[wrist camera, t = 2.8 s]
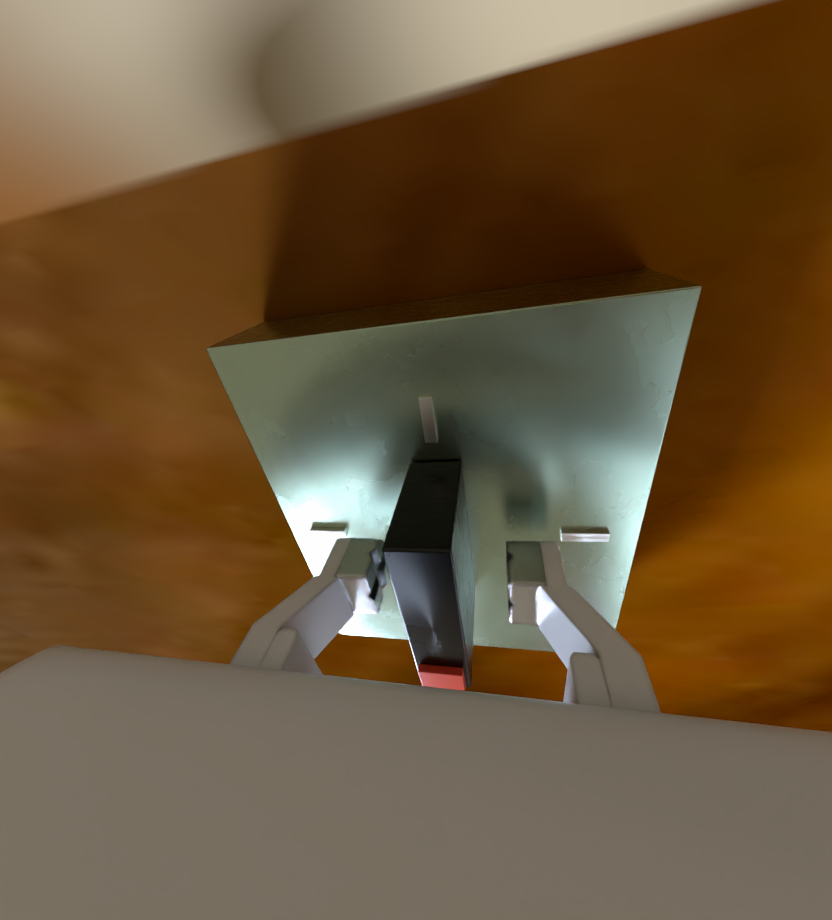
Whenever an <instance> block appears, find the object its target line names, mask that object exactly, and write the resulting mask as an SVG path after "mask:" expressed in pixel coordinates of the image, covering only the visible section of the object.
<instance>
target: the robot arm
mask: <svg viewBox="0 0 832 920" xmlns="http://www.w3.org/2000/svg"><path fill="white" fill-rule="evenodd" d="M383 544H384V542H383V540H382V539H369V538H338V539H337V540H336V542H335V544H334V546H333V548H332V550H331V552H330V554H329V556H328V558H327V560H326V562H325V564H324V566H323V569H322V571H321V573H320V575H319V576H314V577H313V578H312V579H310V580H309V581H308V582H307V583H305V584H304V585H303V586H301V587H300V588H299V589H298V590H296V591H295V592H294V593H292V594H291V595H290V596H288V597H287V598H286V599H285V600H283V601H282V602H281V603H279V604H278V605H277V606H276V607H274V608H273V609H272V610H270V611H269V612H268V613H267V614H265V615H264V616H263V617H261V618H260V619H259V620H258V621H256V622H255V623H254V624H253V625H252V627H251V628H250V630H249V632H248V633H247V635H246V637H245V638H244V640H243V642H242V644H241V645H240V647H239V649H238V650H237V652H236V654H235V655H234V657H233V659H232V661H231V662H230V664H222V663H213V662H204V661H195V660H186V659H178V658H169V657H160V656H151V655H142V654H134V653H125V652H116V651H107V650H99V649H90V648H81V647H73V646H63V645H59V646H52V647H49V648H46V649H44V650H42V651H40V652H38V653H36V654H34V655H32V656H30V657H28V658H26V659H24V660H22V661H21V662H19V663H17V664H15V665H13V666H12V667H10V668H8V669H6V670H5V671H3V672H1V673H0V920H832V732H826V731H817V730H808V729H799V728H790V727H782V726H773V725H764V724H755V723H746V722H737V721H728V720H719V719H710V718H702V717H693V716H684V715H675V714H666V713H661V711H660V708H659V705H658V702H657V699H656V696H655V693H654V690H653V688H652V685H651V682H650V679H649V676H648V673H647V670H646V667H645V664H644V661H643V658H642V656H641V655H640V654H639V653H638V652H637V651H636V650H635V649H634V648H633V647H632V646H631V645H630V644H629V643H628V642H627V641H626V640H625V639H624V638H623V637H622V636H621V635H620V634H619V633H618V632H617V631H616V630H615V629H614V628H613V627H612V626H611V625H610V624H609V623H608V622H607V621H606V620H605V619H604V618H603V617H602V616H601V615H600V614H599V613H598V612H597V611H596V610H595V609H594V608H593V607H592V606H591V605H590V604H589V603H588V602H587V601H586V600H585V599H584V598H583V597H582V596H581V595H580V594H579V593H578V592H577V591H576V590H575V588H574V587H568V585H567V580H566V576H565V571H564V566H563V561H562V557H561V552H560V547H559V543H558V542H557V541H506V569H507V593H508V614H509V623H511V624H521V625H532V626H539V629H540V630H541V631H542V633H543V634H544V636H545V637H546V639H547V640H548V642H549V643H550V644H551V646H552V647H553V649H554V650H555V652H556V653H557V655H558V656H559V657H560V659H561V660H562V662H563V663H564V665H565V666H566V668H567V669H568V672H567V678H566V685H565V692H564V699H563V702H559V701H550V700H541V699H533V698H524V697H515V696H506V695H497V694H488V693H480V692H471V691H462V690H453V689H444V688H435V687H427V686H418V685H409V684H400V683H391V682H382V681H373V680H364V679H355V678H346V677H337V676H328V675H322V673H321V671H320V669H319V667H318V666H317V664H316V662H315V661H314V659H315V658H316V657H317V656H318V654H319V653H320V652H321V651H322V650H323V649H324V648H325V647H326V646H327V644H328V643H329V642H330V641H331V640H332V639H333V638H334V637H335V636H336V635H337V633H338V632H339V631H340V630H341V629H342V628H343V627H344V626H345V625H346V623H347V622H348V621H349V620H350V619H351V618H352V617H353V616H354V614H379V612H380V608H381V605H382V601H383V598H384V595H383V592H382V589H383V588H384V587H385V586H386V585H387V583H388V580H389V573H388V570H387V567H386V563H385V560H384V556H383V553H382V547H383Z"/></svg>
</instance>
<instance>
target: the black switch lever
mask: <svg viewBox="0 0 832 920" xmlns="http://www.w3.org/2000/svg"><path fill="white" fill-rule="evenodd" d="M382 553H383V556H384V560H385V563H386V567H387V570H388V573H389V577H390V580H391V583H392V587H393V590H394V593H395V597H396V600H397V604H398V607H399V610H400V614H401V617H402V620H403V624H404V627H405V631H406V634H407V637H408V641H409V644H410V647H411V651H412V654H413V657H414V661H415V664H416V668H417V671H418V674H419V678H420V681H421V683H422V686H427V687H435V688H444V689H453V690H462V691H466V687H471V682H472V657H473V632H474V607H475V584H474V574H473V565H472V555H471V545H470V536H469V526H468V517H467V507H466V497H465V488H464V478H463V468H462V463H461V462H460V461H456V462H427V463H410V464H409V467H408V470H407V473H406V476H405V479H404V483H403V486H402V489H401V492H400V495H399V498H398V501H397V504H396V507H395V510H394V513H393V516H392V519H391V522H390V525H389V528H388V531H387V534H386V537H385V541H384V544H383V547H382Z"/></svg>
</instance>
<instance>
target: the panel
mask: <svg viewBox="0 0 832 920" xmlns="http://www.w3.org/2000/svg"><path fill="white" fill-rule="evenodd" d="M700 292H701V285H697V284H694V283H691V282H688V281H685V280H682V279H679V278H676V277H673V276H670V275H667V274H663V273H660V272H657V271H654V270H651V269H641V270H634V271H626V272H619V273H612V274H605V275H598V276H591V277H584V278H577V279H570V280H562V281H555V282H548V283H541V284H534V285H527V286H520V287H513V288H506V289H498V290H491V291H484V292H477V293H470V294H463V295H456V296H449V297H442V298H434V299H427V300H420V301H413V302H406V303H399V304H392V305H385V306H378V307H370V308H363V309H356V310H349V311H342V312H335V313H328V314H321V315H313V316H306V317H299V318H292V319H285V320H278V321H271V322H264V323H260V324H258V325H256V326H254V327H252V328H249V329H247V330H245V331H243V332H241V333H239V334H236V335H234V336H232V337H230V338H228V339H226V340H223V341H221V342H219V343H217V344H215V345H212V346H210V347H208V348H207V352H208V354H209V356H210V358H211V361H212V363H213V365H214V367H215V369H216V371H217V373H218V375H219V378H220V380H221V382H222V384H223V386H224V388H225V390H226V392H227V395H228V397H229V399H230V401H231V403H232V405H233V407H234V409H235V411H236V414H237V416H238V418H239V420H240V422H241V424H242V426H243V428H244V431H245V433H246V435H247V437H248V439H249V441H250V443H251V445H252V448H253V450H254V452H255V454H256V456H257V458H258V460H259V462H260V465H261V467H262V469H263V471H264V473H265V475H266V477H267V479H268V481H269V484H270V486H271V488H272V490H273V492H274V494H275V496H276V498H277V501H278V503H279V505H280V507H281V509H282V511H283V513H284V515H285V518H286V520H287V522H288V524H289V526H290V528H291V530H292V532H293V535H294V537H295V539H296V541H297V543H298V545H299V547H300V549H301V552H302V554H303V556H304V558H305V560H306V562H307V564H308V566H309V568H310V571H311V573H312V575H313V577H314V576H319V575H320V573H321V571H322V569H323V566H324V564H325V562H326V560H327V558H328V556H329V554H330V552H331V550H332V548H333V546H334V544H335V542H336V540H337V539H338V538H369V539H382V540H383V542H384V541H385V537H386V534H387V531H388V528H389V525H390V522H391V519H392V516H393V513H394V510H395V507H396V504H397V501H398V498H399V495H400V492H401V489H402V486H403V483H404V479H405V476H406V473H407V470H408V467H409V464H410V463H427V462H456V461H460V462H461V463H462V468H463V478H464V488H465V497H466V507H467V517H468V526H469V536H470V545H471V555H472V565H473V574H474V584H475V607H474V632H473V645H479V646H492V647H504V648H516V649H528V650H540V651H553V652H555V650H554V649H553V647H552V646H551V644H550V643H549V642H548V640H547V639H546V637H545V636H544V634H543V633H542V631H541V630H540V629H539V626H532V625H521V624H511V623H509V614H508V593H507V569H506V541H557V542H558V543H559V547H560V552H561V557H562V561H563V566H564V571H565V576H566V580H567V585H568V587H574V588H575V590H576V591H577V592H578V593H579V594H580V595H581V596H582V597H583V598H584V599H585V600H586V601H587V602H588V603H589V604H590V605H591V606H592V607H593V608H594V609H595V610H596V611H597V612H598V613H599V614H600V615H601V616H602V617H603V618H604V619H605V620H606V621H607V622H608V623H609V624H610V625H611V626H612V627H613V628H614V629H615V630H616V626H617V622H618V618H619V614H620V610H621V606H622V602H623V598H624V594H625V590H626V586H627V582H628V578H629V574H630V570H631V566H632V562H633V558H634V554H635V551H636V547H637V543H638V539H639V535H640V531H641V527H642V523H643V519H644V515H645V511H646V507H647V503H648V499H649V495H650V491H651V487H652V483H653V479H654V475H655V471H656V467H657V463H658V459H659V455H660V451H661V447H662V443H663V439H664V435H665V431H666V427H667V423H668V419H669V415H670V412H671V408H672V404H673V400H674V396H675V392H676V388H677V384H678V380H679V376H680V372H681V368H682V364H683V360H684V356H685V352H686V348H687V344H688V340H689V336H690V332H691V328H692V324H693V320H694V316H695V312H696V308H697V304H698V300H699V296H700ZM382 592H383V595H384V598H383V601H382V605H381V608H380V612H379V614H354V616H353V617H352V618H351V619H350V620H349V621H348V622H347V623H346V625H345V626H344V627H343V628H342V629H341V630H340V631H339V632H340V634H346V635H358V636H370V637H382V638H394V639H406V640H408V637H407V634H406V631H405V627H404V624H403V620H402V617H401V614H400V610H399V607H398V604H397V600H396V597H395V593H394V590H393V587H392V583H391V580H390V577H389V580H388V583H387V585H386V586H385V587H384V588H383V589H382Z"/></svg>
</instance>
